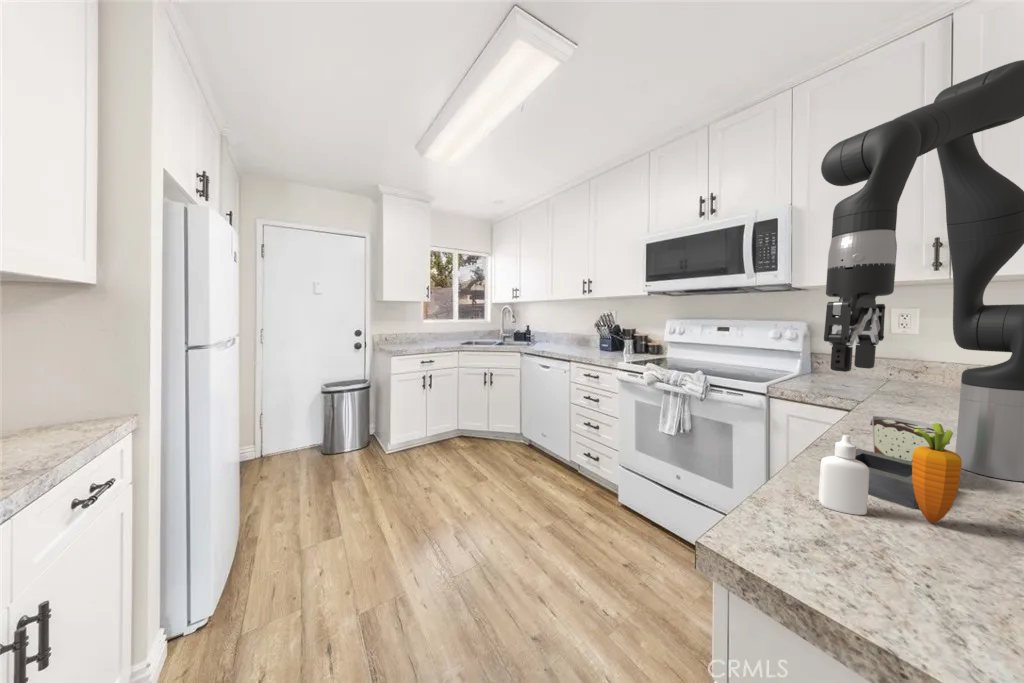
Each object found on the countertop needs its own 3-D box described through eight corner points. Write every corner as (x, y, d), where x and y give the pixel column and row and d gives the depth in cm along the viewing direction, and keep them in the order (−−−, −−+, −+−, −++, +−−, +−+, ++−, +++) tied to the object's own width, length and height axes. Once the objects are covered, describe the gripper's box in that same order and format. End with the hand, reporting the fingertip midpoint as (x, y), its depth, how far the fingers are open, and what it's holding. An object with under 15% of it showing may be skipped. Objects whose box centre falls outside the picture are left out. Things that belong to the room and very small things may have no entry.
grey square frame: (856, 467, 73) (858, 448, 73) (938, 490, 63) (940, 468, 63) (827, 481, 67) (828, 460, 66) (913, 508, 57) (915, 484, 57)
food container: (969, 489, 64) (973, 434, 63) (933, 488, 64) (938, 434, 63) (896, 461, 76) (899, 415, 75) (866, 461, 76) (870, 415, 75)
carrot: (944, 535, 50) (953, 431, 49) (898, 516, 55) (905, 421, 54) (966, 530, 51) (975, 428, 50) (919, 512, 56) (926, 419, 55)
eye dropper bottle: (824, 497, 61) (828, 428, 60) (869, 512, 56) (874, 438, 55) (814, 504, 58) (818, 433, 58) (861, 521, 54) (866, 443, 53)
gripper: (848, 271, 61) (841, 364, 62) (807, 264, 54) (801, 368, 55) (912, 265, 55) (903, 370, 55) (874, 257, 48) (866, 375, 49)
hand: (852, 369), depth 55 cm, fingers open, 8 cm apart
